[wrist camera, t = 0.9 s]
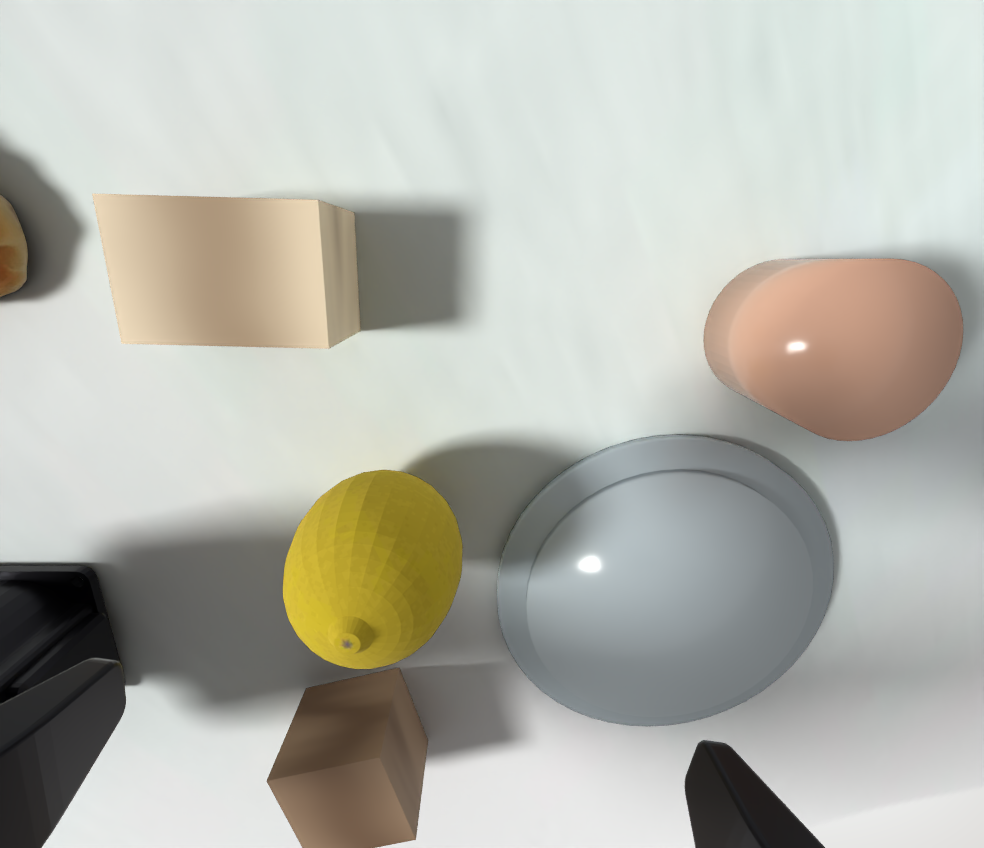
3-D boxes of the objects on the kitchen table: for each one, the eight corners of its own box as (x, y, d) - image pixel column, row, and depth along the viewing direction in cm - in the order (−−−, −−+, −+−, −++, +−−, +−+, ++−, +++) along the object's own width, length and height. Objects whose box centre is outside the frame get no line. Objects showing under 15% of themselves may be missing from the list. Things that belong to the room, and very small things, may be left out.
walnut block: (339, 757, 25) (309, 860, 21) (306, 686, 24) (266, 781, 19) (428, 738, 25) (415, 839, 20) (399, 666, 23) (379, 757, 19)
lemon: (495, 504, 21) (499, 646, 13) (402, 586, 22) (355, 760, 14) (394, 411, 19) (334, 507, 12) (301, 502, 21) (192, 644, 13)
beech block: (196, 326, 19) (121, 343, 15) (179, 208, 17) (92, 193, 14) (361, 330, 19) (328, 348, 15) (355, 212, 18) (317, 199, 14)
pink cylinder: (695, 396, 19) (762, 441, 15) (713, 258, 18) (794, 258, 13) (825, 397, 19) (934, 440, 15) (855, 259, 18) (987, 258, 13)
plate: (495, 715, 24) (496, 738, 23) (498, 434, 20) (498, 444, 19) (791, 715, 24) (806, 737, 23) (857, 434, 20) (880, 445, 19)
